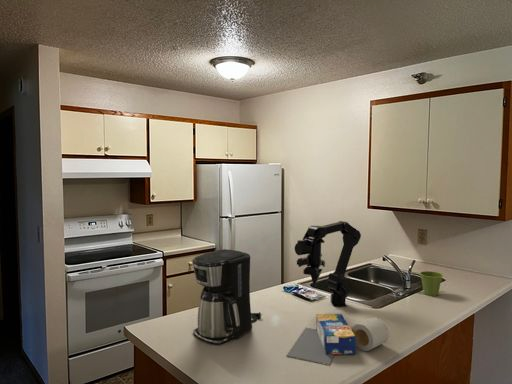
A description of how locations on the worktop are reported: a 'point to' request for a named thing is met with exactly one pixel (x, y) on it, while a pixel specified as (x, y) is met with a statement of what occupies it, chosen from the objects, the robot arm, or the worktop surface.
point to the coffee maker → (223, 295)
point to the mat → (310, 348)
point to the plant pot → (431, 282)
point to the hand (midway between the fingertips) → (314, 284)
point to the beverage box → (335, 334)
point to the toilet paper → (370, 334)
